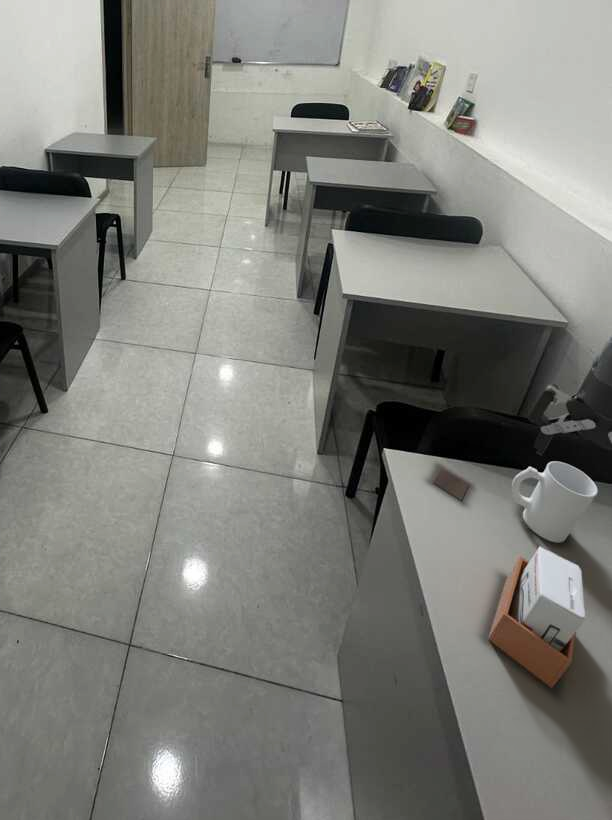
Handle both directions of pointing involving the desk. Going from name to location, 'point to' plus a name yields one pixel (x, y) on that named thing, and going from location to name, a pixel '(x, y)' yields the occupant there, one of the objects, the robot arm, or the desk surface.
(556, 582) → the ink box
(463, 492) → the pad
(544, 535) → the mug
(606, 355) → the robot arm
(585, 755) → the desk surface
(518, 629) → the open box
